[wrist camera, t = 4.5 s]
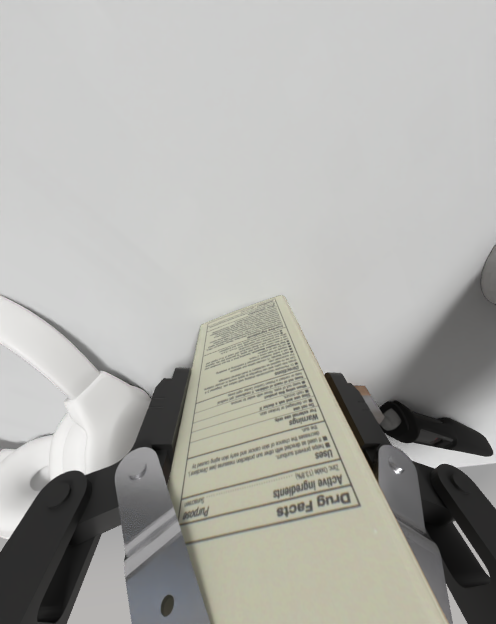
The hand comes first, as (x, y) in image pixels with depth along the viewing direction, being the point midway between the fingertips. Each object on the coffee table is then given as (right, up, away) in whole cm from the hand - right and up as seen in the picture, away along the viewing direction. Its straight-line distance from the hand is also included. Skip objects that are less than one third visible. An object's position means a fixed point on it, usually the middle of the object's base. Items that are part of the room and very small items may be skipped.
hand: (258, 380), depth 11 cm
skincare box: (0, +2, +4) cm, 5 cm away
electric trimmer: (+20, -8, +12) cm, 25 cm away
